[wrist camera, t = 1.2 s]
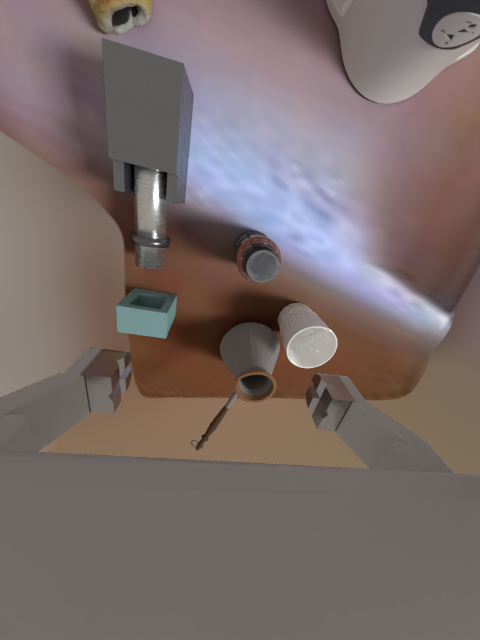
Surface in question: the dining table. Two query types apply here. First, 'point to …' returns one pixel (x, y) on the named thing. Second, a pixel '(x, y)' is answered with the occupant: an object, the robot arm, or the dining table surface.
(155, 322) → the socket
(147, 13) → the pastry
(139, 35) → the dining table surface
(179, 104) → the sleeve
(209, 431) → the coffee pot
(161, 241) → the tube
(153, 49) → the dining table surface
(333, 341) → the white cup
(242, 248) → the supplement bottle
